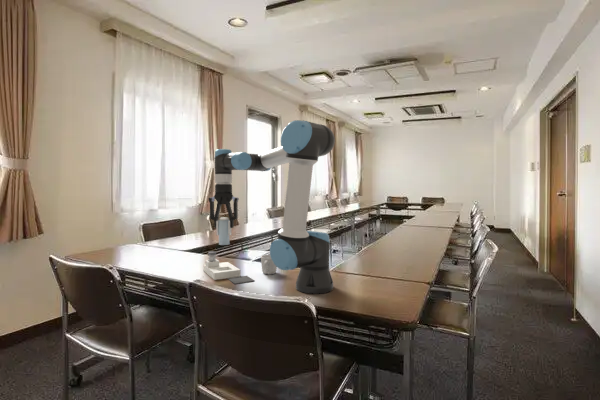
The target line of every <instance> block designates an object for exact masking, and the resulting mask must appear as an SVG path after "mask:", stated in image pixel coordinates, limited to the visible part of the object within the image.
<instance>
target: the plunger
mask: <svg viewBox="0 0 600 400" xmlns="http://www.w3.org/2000/svg"><path fill="white" fill-rule="evenodd" d="M207 255H208V260H209V262H212V261H216V259H217V258H216V255H217V252H216V251H208V253H207Z"/></svg>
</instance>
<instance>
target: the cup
mask: <svg viewBox="0 0 600 400" xmlns="http://www.w3.org/2000/svg"><path fill="white" fill-rule="evenodd" d="M260 263H261V272H262V273H263V274H264V275H273V274H276V272H277V269H278V267H277V266H276V265H275V264H274V262H273V261H272V259H271V256H270V254H263V255H261V256H260Z"/></svg>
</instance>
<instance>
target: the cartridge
mask: <svg viewBox="0 0 600 400" xmlns="http://www.w3.org/2000/svg"><path fill="white" fill-rule="evenodd" d="M218 219H219V235H218V245H220V246H228V245H230V244H231V243H230V236H228V221H229V220H230V219H229V217H219V218H218Z"/></svg>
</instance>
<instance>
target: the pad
mask: <svg viewBox="0 0 600 400" xmlns="http://www.w3.org/2000/svg"><path fill="white" fill-rule="evenodd" d="M227 280H228V281H229V282H231V283H232V284H233V285H240V284H246V283H253V282H255V279H253V278H252V277H250V276H248V275H242V276H241V275H240V277H232V278H227Z"/></svg>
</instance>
